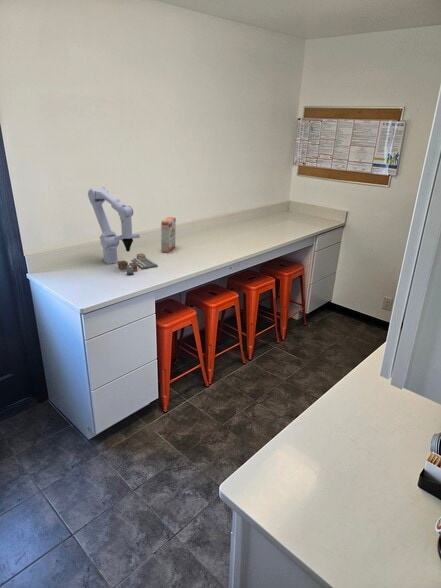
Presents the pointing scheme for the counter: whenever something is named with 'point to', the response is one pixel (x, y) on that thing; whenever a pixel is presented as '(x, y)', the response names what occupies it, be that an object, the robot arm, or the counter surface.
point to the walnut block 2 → (134, 266)
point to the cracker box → (168, 234)
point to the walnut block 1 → (122, 265)
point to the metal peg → (129, 269)
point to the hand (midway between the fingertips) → (127, 251)
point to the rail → (144, 263)
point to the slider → (141, 257)
